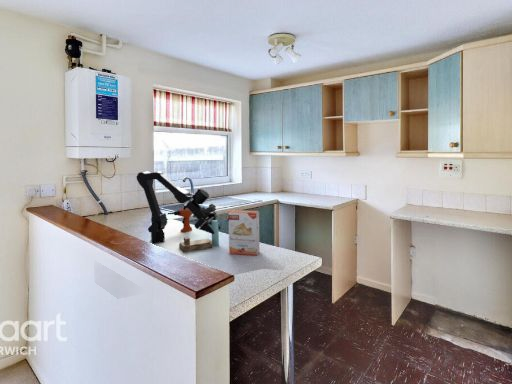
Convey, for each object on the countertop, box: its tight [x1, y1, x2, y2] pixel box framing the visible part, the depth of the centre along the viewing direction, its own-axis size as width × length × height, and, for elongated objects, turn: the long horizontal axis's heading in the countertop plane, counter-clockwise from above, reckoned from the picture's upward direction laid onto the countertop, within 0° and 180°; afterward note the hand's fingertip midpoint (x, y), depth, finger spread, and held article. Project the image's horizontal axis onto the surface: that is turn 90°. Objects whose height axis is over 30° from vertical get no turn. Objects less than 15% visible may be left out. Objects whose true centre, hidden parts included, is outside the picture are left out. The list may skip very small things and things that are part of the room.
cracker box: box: [227, 209, 260, 256], centre depth 156 cm, size 14×6×21 cm, turn 76°
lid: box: [179, 236, 213, 247], centre depth 167 cm, size 15×7×4 cm, turn 116°
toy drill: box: [167, 208, 193, 233], centre depth 196 cm, size 5×19×15 cm, turn 144°
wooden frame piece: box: [178, 242, 214, 253], centre depth 167 cm, size 15×9×2 cm, turn 116°
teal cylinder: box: [210, 219, 220, 247], centre depth 171 cm, size 4×4×13 cm
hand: (217, 231), depth 171 cm, fingers open, 9 cm apart
